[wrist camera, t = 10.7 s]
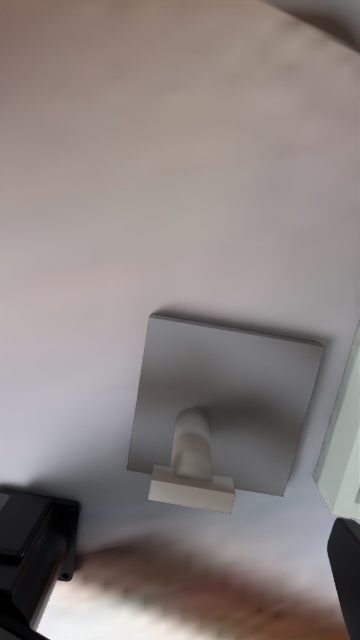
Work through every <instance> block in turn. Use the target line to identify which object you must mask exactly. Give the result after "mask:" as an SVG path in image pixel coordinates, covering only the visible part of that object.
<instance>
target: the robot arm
mask: <svg viewBox="0 0 360 640" xmlns="http://www.w3.org/2000/svg"><path fill="white" fill-rule="evenodd" d="M72 509H75V510H72ZM81 509H82V508H81V505H80V504H79V503H78V502H76V501H71V500H65V499H59V498H54V497H48V496H42V495H36V494H30V493H24V492H19V491H13V490H7V489H1V488H0V640H50V639H48V638H46V637H45V636H43V635H41V634H40V633H38V632H36V630H37V628H38V626H39V623H40V621H41V618H42V616H43V613H44V611H45V608H46V606H47V603H48V601H49V599H50V596H51V594H52V591H53V589H54V586H55V584H56V581H57V580H59V581H70V580H71V579H72V577H73V574H74V571H75V562H76V553H77V544H78V536H79V527H80V518H81ZM327 552H328V557H329V561H330V565H331V569H332V573H333V578H334V582H335V586H336V590H337V594H338V598H339V602H340V606H341V610H342V614H343V618H344V622H345V625H346V629H347V632H348V635H349V638H350V640H360V525H359V524H358V523H357V522H356V521H354V520H352V519H346V518H337V519H336V520H335V522H334V525H333V528H332V531H331V534H330V537H329V540H328V544H327Z"/></svg>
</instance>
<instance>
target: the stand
mask: <svg viewBox="0 0 360 640" xmlns="http://www.w3.org/2000/svg"><path fill="white" fill-rule="evenodd" d="M324 348H325V347H324V346H323V345H321V344H320V343H319V342H315V341H309V340H303V339H297V338H291V337H285V336H279V335H273V334H268V333H262V332H256V331H250V330H244V329H238V328H232V327H226V326H220V325H214V324H209V323H203V322H197V321H191V320H185V319H179V318H173V317H167V316H161V315H156V314H151V315H150V316H149V320H148V327H147V334H146V341H145V348H144V354H143V361H142V368H141V375H140V382H139V389H138V396H137V402H136V409H135V416H134V423H133V430H132V437H131V443H130V450H129V457H128V464H127V470H130V471H136V472H142V473H148V474H152V479H151V485H150V491H149V497H148V500H153V501H159V502H165V503H171V504H177V505H182V506H184V507H189V508H200V509H206V510H211V511H217V512H223V513H229V514H231V509H232V505H233V501H234V497H235V490H234V488H235V489H241V490H247V491H252V492H258V493H264V494H270V495H276V496H281V497H283V496H284V492H285V488H286V485H287V481H288V478H289V474H290V471H291V467H292V463H293V460H294V456H295V453H296V449H297V445H298V442H299V438H300V435H301V431H302V427H303V424H304V420H305V417H306V413H307V409H308V406H309V402H310V399H311V395H312V392H313V388H314V384H315V381H316V377H317V374H318V370H319V366H320V363H321V359H322V356H323V352H324Z"/></svg>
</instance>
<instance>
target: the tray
mask: <svg viewBox="0 0 360 640" xmlns="http://www.w3.org/2000/svg"><path fill="white" fill-rule="evenodd" d="M313 479H314V481H315V483H316V484H317V486H318V488H319V490H320V492H321V494H322V496H323V498H324V500H325V502H326V504H327V506H328V508H329V510H330V512H331V514H333V515H338V516H344V517H350V518H356V519H360V322H359V326H358V329H357V332H356V336H355V339H354V342H353V346H352V349H351V352H350V356H349V359H348V362H347V366H346V369H345V373H344V376H343V379H342V383H341V386H340V389H339V393H338V396H337V399H336V403H335V406H334V409H333V413H332V416H331V419H330V423H329V426H328V429H327V433H326V436H325V440H324V443H323V446H322V450H321V453H320V456H319V460H318V463H317V466H316V470H315V473H314V476H313Z"/></svg>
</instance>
